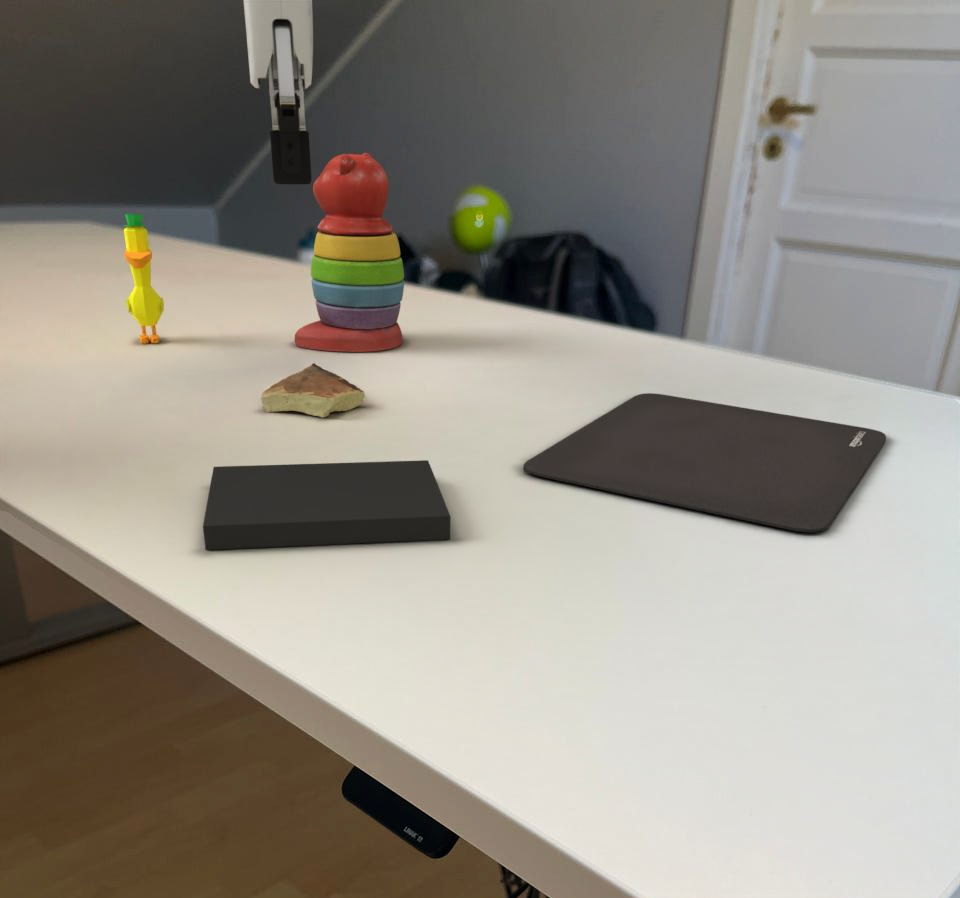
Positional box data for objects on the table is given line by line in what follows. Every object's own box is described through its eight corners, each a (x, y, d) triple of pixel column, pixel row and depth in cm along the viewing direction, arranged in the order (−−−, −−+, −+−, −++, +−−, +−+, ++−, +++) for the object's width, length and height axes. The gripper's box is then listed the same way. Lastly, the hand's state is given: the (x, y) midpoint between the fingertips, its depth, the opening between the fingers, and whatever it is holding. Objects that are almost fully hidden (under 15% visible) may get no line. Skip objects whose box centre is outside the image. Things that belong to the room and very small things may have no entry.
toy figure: (167, 348, 97) (150, 218, 91) (129, 349, 96) (110, 218, 90) (168, 334, 103) (152, 210, 97) (132, 335, 102) (115, 210, 96)
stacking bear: (343, 327, 108) (336, 148, 99) (423, 338, 104) (423, 153, 96) (286, 346, 99) (273, 151, 91) (372, 358, 96) (367, 157, 87)
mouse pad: (822, 537, 59) (822, 533, 59) (513, 471, 68) (513, 468, 68) (889, 434, 78) (890, 431, 78) (642, 393, 87) (642, 390, 87)
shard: (314, 379, 88) (313, 359, 87) (393, 388, 87) (392, 367, 86) (257, 411, 79) (256, 389, 78) (344, 421, 77) (343, 398, 77)
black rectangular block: (205, 550, 55) (202, 525, 54) (215, 488, 64) (213, 466, 63) (450, 539, 57) (450, 516, 57) (428, 481, 66) (428, 459, 65)
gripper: (229, -69, 81) (250, 176, 90) (219, -97, 68) (245, 191, 77) (320, -65, 82) (332, 176, 91) (327, -91, 69) (341, 192, 78)
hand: (292, 182), depth 84 cm, fingers closed
